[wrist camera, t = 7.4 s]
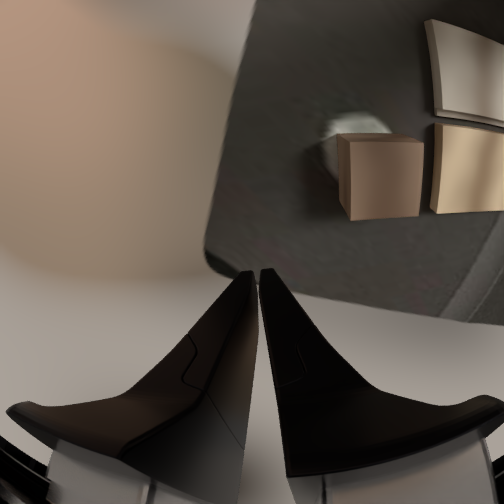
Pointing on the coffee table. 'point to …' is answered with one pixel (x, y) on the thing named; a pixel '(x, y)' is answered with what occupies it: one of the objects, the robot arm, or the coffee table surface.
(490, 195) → the panel
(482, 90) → the laid plank
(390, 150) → the block
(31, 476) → the robot arm
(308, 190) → the coffee table surface
